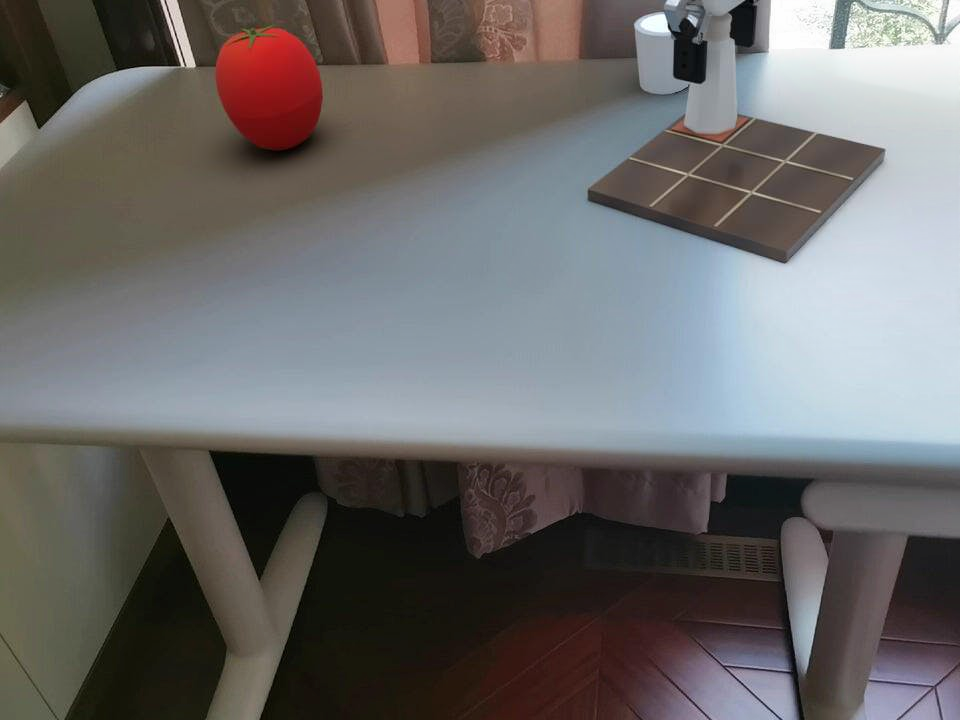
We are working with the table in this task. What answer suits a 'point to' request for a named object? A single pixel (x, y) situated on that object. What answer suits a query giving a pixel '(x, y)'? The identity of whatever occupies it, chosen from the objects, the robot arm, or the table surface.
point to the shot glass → (657, 55)
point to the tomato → (269, 87)
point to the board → (740, 183)
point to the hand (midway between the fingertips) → (714, 61)
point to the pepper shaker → (715, 83)
